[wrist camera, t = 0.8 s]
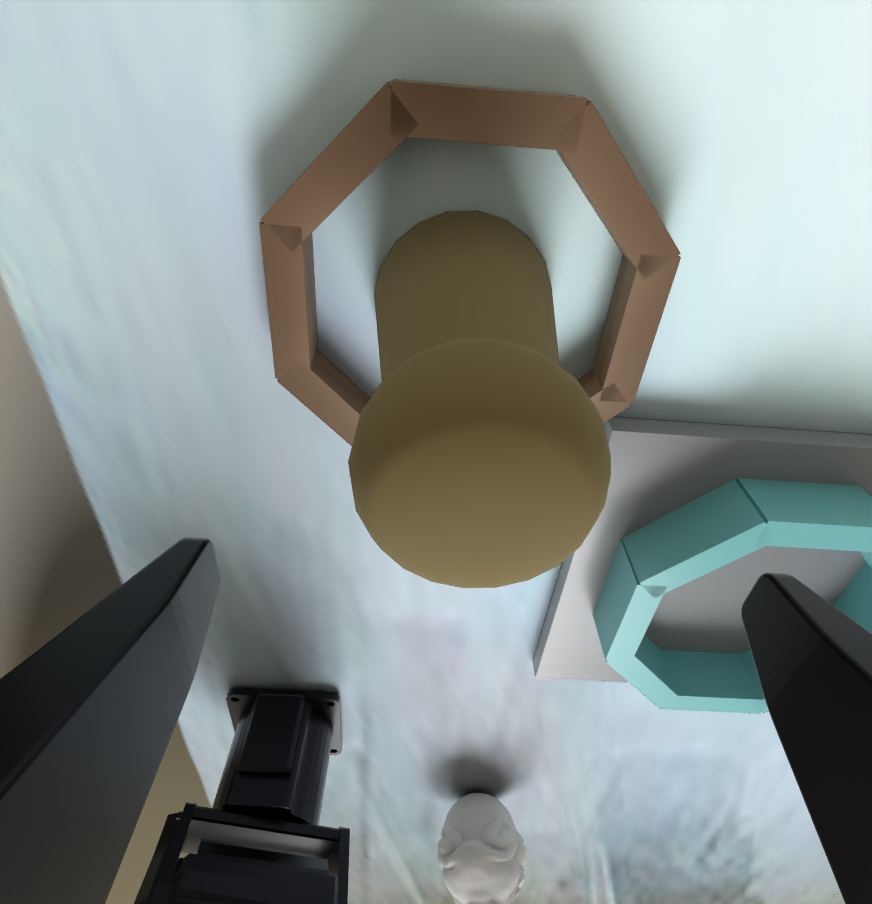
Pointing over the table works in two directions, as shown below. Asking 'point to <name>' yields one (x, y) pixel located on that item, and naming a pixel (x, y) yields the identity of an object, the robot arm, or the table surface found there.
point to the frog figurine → (481, 852)
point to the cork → (474, 412)
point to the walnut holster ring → (477, 121)
